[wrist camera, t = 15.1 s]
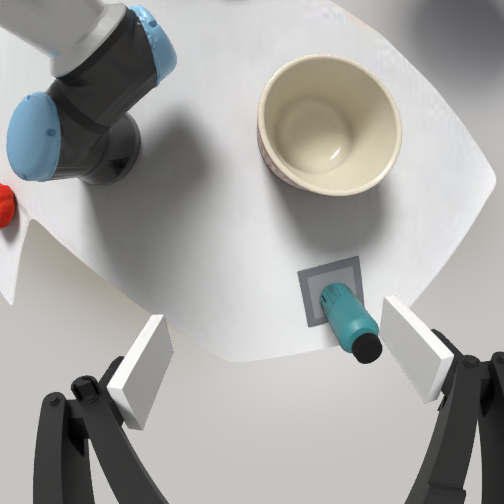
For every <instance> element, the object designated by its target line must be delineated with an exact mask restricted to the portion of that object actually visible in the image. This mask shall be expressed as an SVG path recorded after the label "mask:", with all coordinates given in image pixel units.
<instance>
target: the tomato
mask: <svg viewBox="0 0 504 504" xmlns="http://www.w3.org/2000/svg"><path fill="white" fill-rule="evenodd" d="M13 197H14V196H13V192H12V190H11V189H10V187H9V186H6V185H2V184H0V229H1V228H3V227H5V226H7V225H8V224H9V223H10V221H11V220H12V219H13V216H14V211H15V206H14V201H13Z"/></svg>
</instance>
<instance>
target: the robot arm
mask: <svg viewBox="0 0 504 504" xmlns="http://www.w3.org/2000/svg"><path fill="white" fill-rule="evenodd" d="M0 27H1V28H3V29H5V30H6V31H8V32H9V33H11V34H13V35H14V36H16V37H18V38H19V39H21V40H22V41H24V42H26V43H27V44H29V45H30V46H32V47H34V48H35V49H37V50H38V51H40V52H41V53H43V54H44V55H46V56H48V57H49V58H50V71H51V75H52V76H54V77H55V78H57V79H56V80H55V81H54V82H53V83H52V85H51V86H50V87H49V88H48V90H47V91H46V92H36V93H33V94H31V95H28V96H26V97H25V98H24V99H23V100H22V101H21V102H20V103H19V105H18V106H17V107H16V109H15V111H14V113H13V115H12V117H11V120H10V123H9V127H8V132H7V145H6V146H7V156H8V160H9V163H10V165H11V168H12V169H13V171H14V172H15V174H16V175H17V176H18V177H20V178H21V179H23V180H26V181H38V182H45V181H49V180H58V179H66V178H76V177H77V178H79V179H81V180H82V181H84V182H86V183H88V184H92V185H107V184H111V183H114V182H116V181H118V180H120V179H121V178H122V177H124V176H125V175H126V174H127V173H128V172H129V170H130V169H131V168H132V166H133V164H134V162H135V160H136V158H137V155H138V152H139V147H140V134H139V129H138V126H137V124H136V122H135V120H134V119H133V117H132V116H131V115H130V114H128V113H127V111H128V110H130V109H131V108H132V107H133V106H134V105H135V104H136V103H137V102H138V101H139V100H140V99H141V98H143V97H144V96H145V95H146V94H147V93H148V92H149V91H150V90H152V89H153V88H155V87H157V86H158V85H159V84H160V81H162V80H163V79H164V78H165V77H166V76H167V75H168V74H170V73H171V72H172V71H173V70H174V68H175V66H176V63H177V56H176V53H175V50H174V48H173V46H172V44H171V42H170V40H169V38H168V37H167V35H166V34H165V32H164V30H163V29H162V28H161V26H160V25H158V24H157V22H156V20H155V19H154V17H153V16H152V15H151V14H150V12H149V11H148V10H146V9H145V8H144V7H142V6H141V5H135V6H132V7H130V8H127V6H126V5H125V4H124V3H122V2H111V3H104V2H103V1H102V0H0ZM379 336H380V337H381V339H382V340H383V342H384V343H385V344H386V346H387V347H388V349H389V350H390V352H391V353H392V355H393V356H394V357H395V359H396V361H397V362H398V363H399V365H400V366H401V368H402V369H403V371H404V372H405V374H406V375H407V377H408V378H409V380H410V381H411V383H412V384H413V386H414V388H415V389H416V391H417V392H418V394H419V395H420V397H421V398H422V400H423V402H424V403H428V402H431V401H434V400H437V398H438V396H439V394H440V391H442V392H443V394H444V397H443V400H442V402H441V404H440V406H439V408H438V411H439V410H440V411H439V415H438V418H437V422H436V425H435V428H434V432H433V435H432V438H431V441H430V444H429V447H428V450H427V453H426V455H425V458H424V461H423V463H422V466H421V468H420V471H419V473H418V476H417V478H416V480H415V483H414V485H413V487H412V489H411V491H410V493H409V496H408V498H407V500H406V502H405V504H464V501H465V497H466V491H465V490H463V485H464V481H465V478H466V474H467V470H468V466H469V462H470V458H471V453H472V448H473V443H474V437H475V432H476V424H477V418H478V425H479V433H480V443H481V457H482V504H504V352H495V353H494V354H493V355H492V358H491V360H490V361H485V362H480V360H479V359H478V358H476V357H475V356H472V355H463V354H462V353H461V352H460V351H459V350H458V349H457V348H456V347H455V346H454V345H453V344H452V343H450V341H449V340H448V339H446V337H445V336H444V335H443V334H442V333H441V332H439V331H437V330H435V329H432V330H430V329H429V328H428V327H427V326H426V325H425V324H424V323H423V322H422V321H421V320H420V319H419V318H418V317H417V316H416V315H415V314H414V313H413V312H411V310H410V309H409V308H408V307H407V306H405V305H404V304H403V303H402V302H401V301H400V300H399V299H398V298H397V297H396V296H395V295H392V296H385V297H384V301H383V309H382V317H381V324H380V331H379ZM172 355H173V348H172V345H171V341H170V337H169V333H168V329H167V325H166V321H165V316H164V314H163V315H152V316H151V318H150V319H149V320H148V322H147V324H146V325H145V327H144V328H143V330H142V331H141V333H140V334H139V336H138V338H137V339H136V341H135V342H134V344H133V345H132V347H131V348H130V350H129V351H128V353H127V355H126V356H125V357H122V356H119V357H118V358H116V359H115V360H114V361H113V362H112V363H111V364H110V366H109V368H108V369H107V370H106V372H105V374H104V375H103V377H102V378H101V380H100V381H99V383H98V382H97V380H96V379H95V378H94V377H92V376H87V375H86V376H81V377H79V378H77V379H76V380H75V381H73V383H72V385H71V390H72V392H73V394H74V395H75V397H76V399H75V400H66V398H65V396H64V395H63V394H62V393H60V392H53V393H50V394H48V395H47V396H46V397H45V398H44V400H43V402H42V407H41V412H40V418H39V425H38V432H37V440H36V449H35V460H34V477H33V504H95V501H94V495H93V488H92V480H91V471H90V461H89V447H88V439H90V440H91V442H92V445H93V448H94V450H95V452H96V455H97V458H98V460H99V463H100V465H101V467H102V469H103V472H104V474H105V476H106V478H107V480H108V482H109V485H110V487H111V489H112V491H113V493H114V495H115V497H116V499H117V501H118V502H119V504H169V503H168V502H167V500H166V499H165V498H164V496H163V495H162V493H161V492H160V490H159V489H158V488H157V486H156V485H155V483H154V482H153V480H152V479H151V477H150V476H149V474H148V472H147V471H146V469H145V468H144V466H143V464H142V463H141V461H140V459H139V458H138V456H137V454H136V452H135V451H134V449H133V447H132V446H131V444H130V442H129V440H128V438H127V436H126V434H125V432H124V431H123V429H122V427H121V426H122V424H123V422H125V423H126V425H127V427H128V428H129V429H136V430H143V428H144V426H145V423H146V420H147V418H148V415H149V412H150V410H151V407H152V405H153V402H154V399H155V397H156V394H157V392H158V389H159V387H160V384H161V382H162V379H163V377H164V374H165V371H166V369H167V367H168V364H169V362H170V359H171V357H172Z"/></svg>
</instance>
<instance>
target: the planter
mask: <svg viewBox="0 0 504 504" xmlns="http://www.w3.org/2000/svg"><path fill="white" fill-rule="evenodd" d="M257 141H258V146H259V150H260V152H261V155H262V157H263V159H264V161H265V162H266V164H267V166H268V167H269V168H270V169H271V170H272V172H273V173H274V174H276V175H277V176H278V177H279V178H280V179H282V180H283V181H285V182H286V183H288V184H290V185H292V186H294V187H297V188H300V189H303V190H307V191H310V192H314V193H318V194H321V195H327V196H350V195H356V194H359V193H361V192H364V191H367V190H369V189H370V188H372V187H374V186H376V185H377V184H378V183H379V182H380V181H382V180H383V179H384V178H385V177H386V176H387V174H388V173H389V172H390V171H391V169H392V167H393V166H394V164H395V162H396V160H397V157H398V155H399V152H400V147H401V143H402V125H401V119H400V115H399V111H398V108H397V106H396V103H395V101H394V99H393V97H392V95H391V94H390V92H389V90H388V89H387V88H386V86H385V85H384V84H383V83H382V81H381V80H380V79H379V78H378V77H377V76H375V75H374V74H373V73H372V72H371V71H369V70H368V69H367V68H365V67H364V66H362V65H360V64H358V63H356V62H354V61H352V60H349V59H347V58H344V57H340V56H335V55H327V54H318V55H309V56H305V57H301V58H298V59H296V60H293V61H291V62H289V63H288V64H286V65H284V66H283V67H281V68H280V69H279V70H278V71H277V72H276V73H275V74H274V75H273V76H272V77H271V79H270V80H269V81H268V83H267V84H266V86H265V88H264V90H263V92H262V95H261V98H260V102H259V108H258V118H257Z"/></svg>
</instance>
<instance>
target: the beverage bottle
mask: <svg viewBox="0 0 504 504" xmlns="http://www.w3.org/2000/svg"><path fill="white" fill-rule="evenodd" d="M354 294H355V293H353V292H352V291H351V290H350V288H348V286H346V285H345V284H343V283H338V282H336V283H331V284H329V285H327V286H326V287H325V288H324V289H323V290H322V292H321V294H320V297H319V298H320V306H321V307H322V308H321V309H323V311H324V314H325V317H326V319H328V321H329V323H330V325H331V326H330V327H332V329H333V332H334V333H335V335H336V338H337V339H338V341H339V344H340V346H341V348H342V349H343V350H344V351H346V352H349V353H353V355H354V356H355V357H356V359H357V360H358V361H359V362H360V363H362V364H368V363H371V362H373V361H375V360H376V359H377V358H378V357H379V356H380V355H381V353H382V344H381V342H380V340H379V338H378V334H379V328H378V324H377V323H376V321H375V320H374V319H373V318H372V317H371V316H370V314H369V313H368V312H367V310H366V309H365V308H364V307H363V305H362V304H361V302H360V301H359V300H358V298H357V297H356V295H354Z"/></svg>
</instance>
